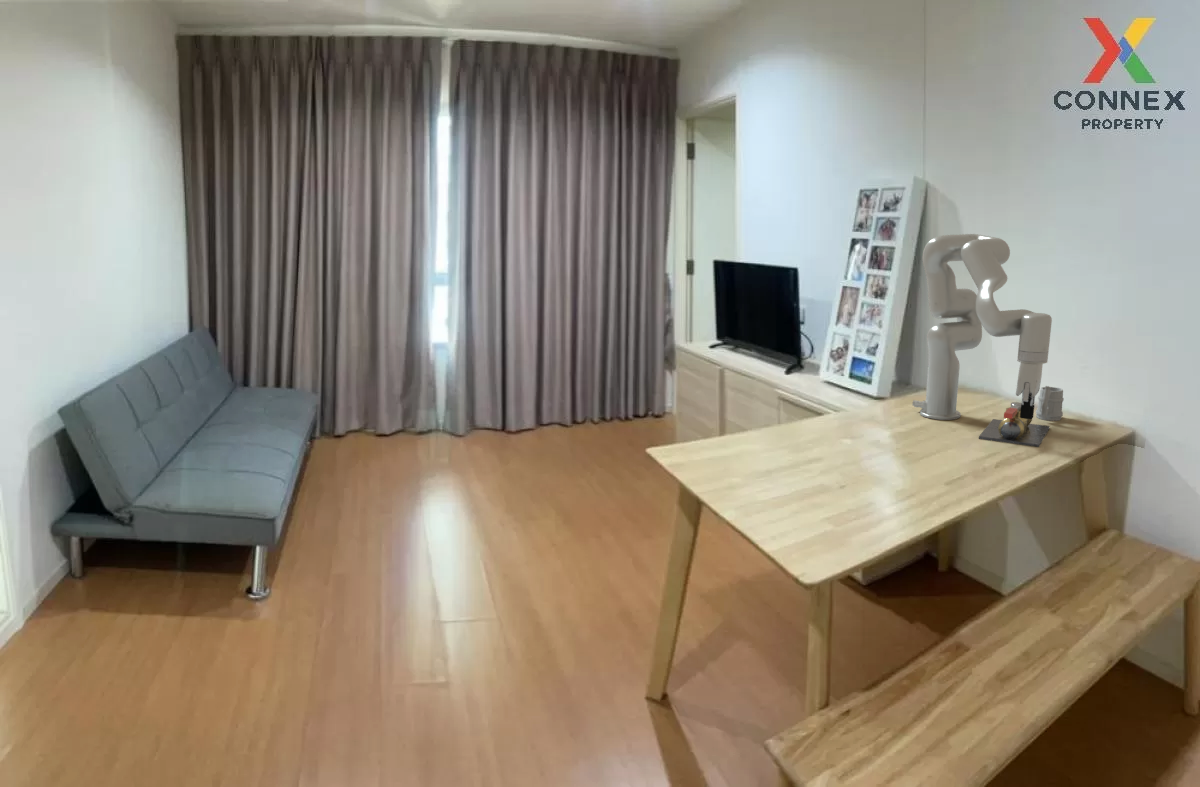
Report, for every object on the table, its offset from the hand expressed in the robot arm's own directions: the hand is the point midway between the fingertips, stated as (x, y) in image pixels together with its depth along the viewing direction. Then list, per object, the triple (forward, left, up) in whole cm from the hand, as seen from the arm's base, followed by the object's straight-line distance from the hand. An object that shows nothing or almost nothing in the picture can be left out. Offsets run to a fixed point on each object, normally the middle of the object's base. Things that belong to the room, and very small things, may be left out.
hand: (1026, 417), depth 216 cm
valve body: (-4, +11, -8) cm, 14 cm away
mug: (+2, +33, -9) cm, 34 cm away
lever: (-4, +5, 0) cm, 7 cm away
